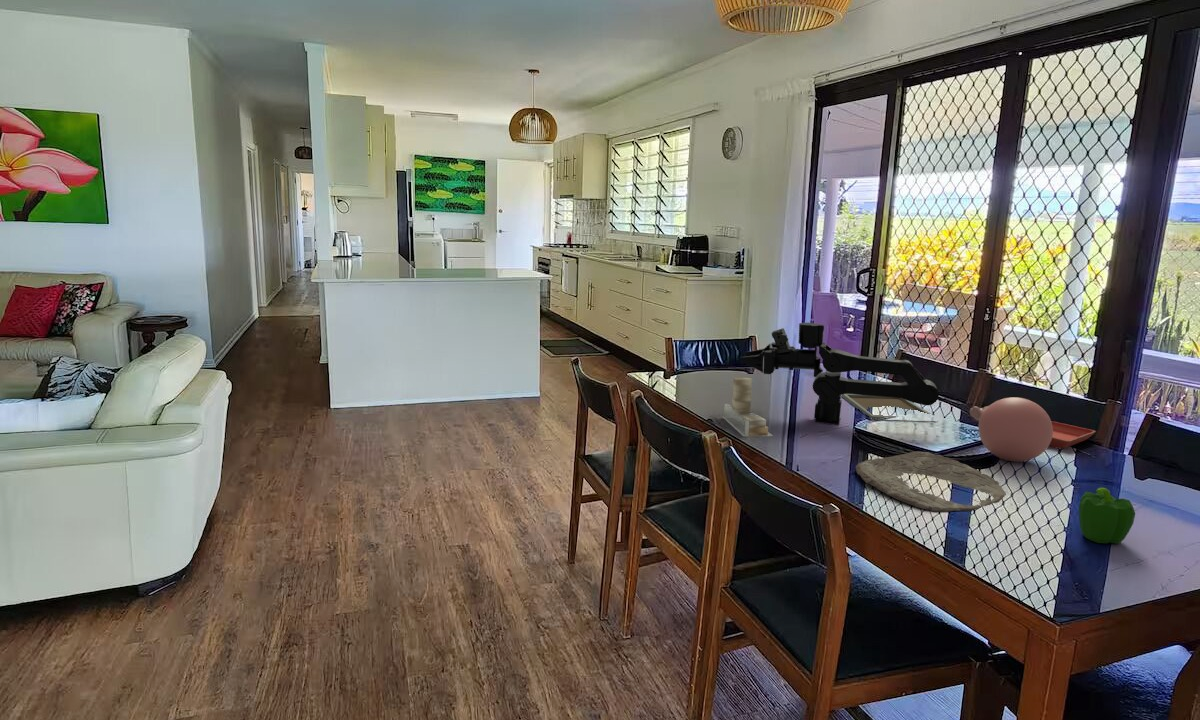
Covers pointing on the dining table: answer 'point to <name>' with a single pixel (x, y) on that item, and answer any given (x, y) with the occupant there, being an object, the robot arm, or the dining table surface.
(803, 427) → the dining table surface
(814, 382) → the robot arm
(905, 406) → the picture frame
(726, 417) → the offcut rack
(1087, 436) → the plant saucer
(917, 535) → the dining table surface
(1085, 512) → the bell pepper
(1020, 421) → the balloon
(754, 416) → the offcut pile
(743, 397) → the beige wooden block
